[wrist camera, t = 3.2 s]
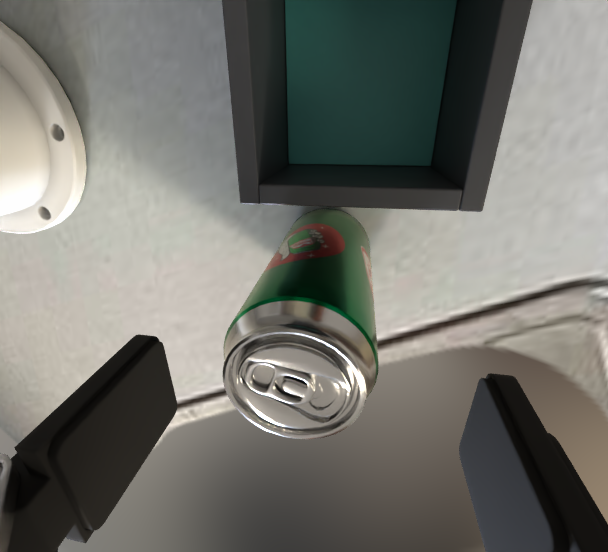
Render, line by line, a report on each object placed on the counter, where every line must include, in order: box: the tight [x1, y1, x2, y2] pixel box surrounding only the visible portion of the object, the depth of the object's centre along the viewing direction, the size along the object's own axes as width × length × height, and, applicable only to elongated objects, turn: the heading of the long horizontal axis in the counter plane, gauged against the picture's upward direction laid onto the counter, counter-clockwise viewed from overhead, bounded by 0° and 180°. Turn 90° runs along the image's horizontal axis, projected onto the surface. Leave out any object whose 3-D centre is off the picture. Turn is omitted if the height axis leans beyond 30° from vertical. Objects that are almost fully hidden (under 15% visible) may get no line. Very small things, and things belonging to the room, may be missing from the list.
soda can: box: [223, 208, 378, 439], centre depth 15 cm, size 5×5×12 cm
